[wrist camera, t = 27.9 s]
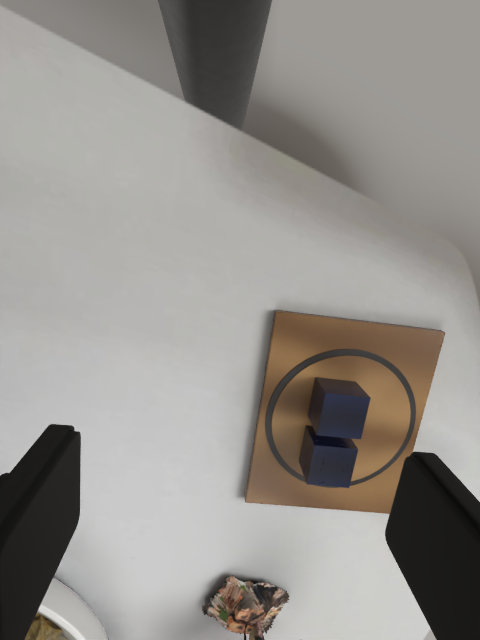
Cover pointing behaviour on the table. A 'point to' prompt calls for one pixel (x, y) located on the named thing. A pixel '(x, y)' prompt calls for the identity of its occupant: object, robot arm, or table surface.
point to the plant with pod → (246, 606)
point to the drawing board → (352, 365)
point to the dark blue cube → (338, 408)
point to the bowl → (64, 617)
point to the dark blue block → (327, 459)
